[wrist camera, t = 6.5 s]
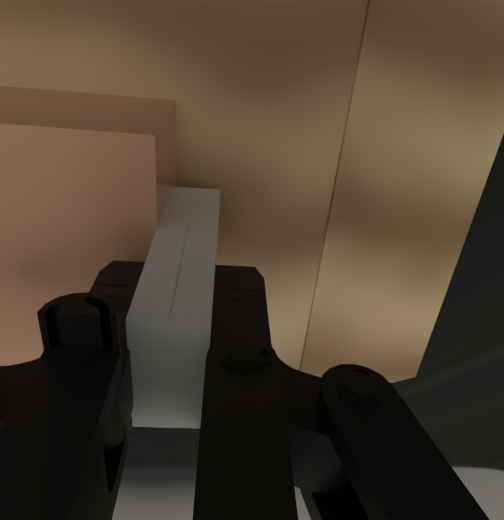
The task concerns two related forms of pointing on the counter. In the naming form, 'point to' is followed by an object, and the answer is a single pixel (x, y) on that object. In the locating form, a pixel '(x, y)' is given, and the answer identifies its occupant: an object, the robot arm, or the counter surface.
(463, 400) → the counter surface
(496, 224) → the counter surface
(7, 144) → the salmon pink box
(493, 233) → the counter surface
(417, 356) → the oak riser
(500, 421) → the counter surface
